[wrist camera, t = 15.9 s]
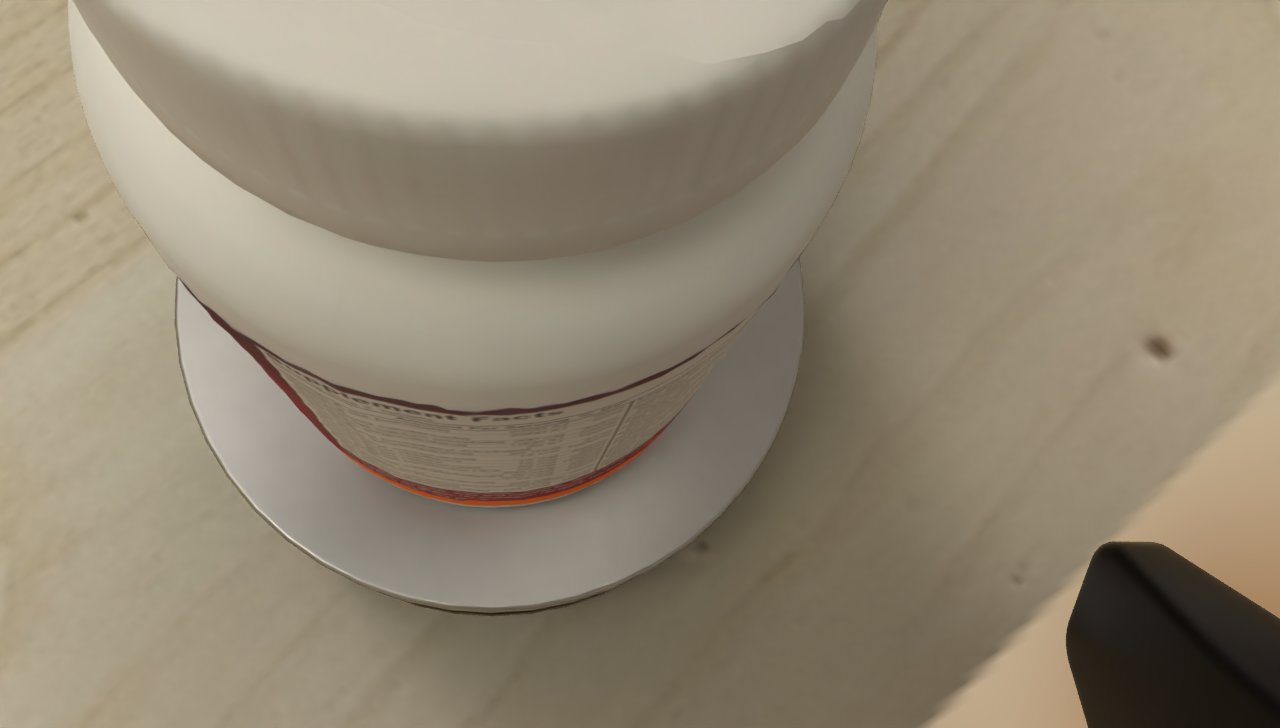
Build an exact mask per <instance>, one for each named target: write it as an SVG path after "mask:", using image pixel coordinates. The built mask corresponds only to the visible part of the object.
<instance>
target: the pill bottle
mask: <svg viewBox="0 0 1280 728" xmlns="http://www.w3.org/2000/svg"><path fill="white" fill-rule="evenodd" d="M887 1H888V0H68V21H69V39H70V49H71V59H72V67H73V72H74V77H75V82H76V87H77V90H78V94H79V97H80V101H81V104H82V108H83V112H84V115H85V119H86V122H87V125H88V127H89V129H90V132H91V134H92V137H93V139H94V142H95V144H96V146H97V149H98V151H99V154H100V156H101V159H102V161H103V163H104V165H105V167H106V169H107V171H108V174H109V176H110V178H111V180H112V182H113V184H114V186H115V188H116V189H117V191H118V193H119V194H120V196H121V198H122V200H123V201H124V203H125V205H126V206H127V208H128V210H129V211H130V212H131V214H132V215H133V217H134V218H135V219H136V221H137V222H138V224H139V225H140V226H141V228H142V229H143V231H144V232H145V234H146V235H147V237H148V238H149V239H150V241H151V242H152V244H153V245H154V247H155V248H156V250H157V251H158V253H159V254H160V255H161V257H162V258H163V260H164V261H165V263H166V264H167V266H168V267H169V268H170V269H171V270H172V271H173V272H174V273H175V275H176V276H177V277H178V278H179V279H180V281H181V282H182V283H183V285H184V286H185V288H186V289H187V290H188V291H189V292H190V294H191V295H192V296H193V297H194V298H195V299H196V300H197V301H198V302H199V303H200V304H201V305H202V307H203V308H204V309H205V310H206V311H207V312H208V313H209V315H210V316H211V318H212V319H213V320H214V321H215V322H216V323H217V324H218V325H220V326H221V327H222V328H223V329H224V330H225V331H227V332H228V333H229V334H230V335H231V336H232V337H233V338H234V339H235V340H236V341H237V342H238V344H239V345H240V346H241V347H242V348H244V349H245V350H246V351H247V352H248V353H249V354H250V355H251V356H252V357H253V358H254V359H255V361H256V362H257V363H258V364H259V365H260V366H261V367H262V368H263V370H264V371H265V372H266V373H267V374H268V376H269V377H270V378H271V379H272V380H273V381H274V382H275V383H276V384H277V385H278V386H279V387H280V388H281V389H282V390H283V391H284V392H285V393H286V395H287V396H288V397H289V398H290V399H291V401H292V402H293V403H294V404H295V406H296V407H297V408H298V409H299V410H300V412H302V413H303V414H304V415H305V416H306V417H307V418H308V419H309V420H310V421H311V422H312V423H313V425H314V426H315V427H316V428H317V429H318V430H319V431H320V432H321V433H322V434H323V435H324V436H325V437H326V438H327V439H328V440H329V441H331V442H332V443H333V444H334V445H335V446H336V447H337V448H338V449H339V450H340V451H341V452H343V453H344V454H345V455H346V456H347V457H349V458H350V459H351V460H352V461H354V462H355V463H356V464H358V465H359V466H361V467H362V468H364V469H365V470H367V471H368V472H370V473H371V474H373V475H374V476H376V477H378V478H380V479H382V480H384V481H386V482H388V483H390V484H392V485H394V486H396V487H398V488H400V489H403V490H406V491H408V492H411V493H414V494H416V495H419V496H422V497H426V498H429V499H433V500H436V501H440V502H445V503H450V504H455V505H460V506H470V507H485V508H497V507H514V506H525V505H530V504H535V503H540V502H544V501H549V500H553V499H557V498H560V497H564V496H567V495H569V494H572V493H574V492H577V491H579V490H582V489H584V488H586V487H589V486H591V485H593V484H595V483H597V482H599V481H601V480H603V479H604V478H606V477H608V476H610V475H611V474H613V473H615V472H616V471H618V470H620V469H621V468H622V467H624V466H625V465H626V464H628V463H629V462H631V461H632V460H633V459H635V458H636V457H637V456H639V455H640V454H641V453H642V452H643V451H644V450H645V449H646V448H647V447H648V446H649V445H650V444H651V443H652V442H653V441H654V440H656V439H657V438H658V437H659V436H660V435H661V433H662V432H663V431H664V430H665V429H666V428H667V426H668V425H669V424H670V423H671V422H672V421H673V420H674V419H675V417H676V416H677V415H678V414H679V413H680V412H681V410H682V409H683V408H684V407H685V406H686V405H687V403H688V402H689V401H690V400H691V398H692V397H693V396H694V394H695V393H696V392H697V390H698V389H699V388H700V386H701V385H702V384H703V382H704V381H705V380H706V378H707V377H708V376H709V375H710V373H711V372H712V371H713V369H714V368H715V367H716V366H717V364H718V363H719V362H720V361H721V359H722V358H723V357H724V356H725V354H726V353H727V352H728V351H729V349H730V348H731V347H732V345H733V344H734V343H735V342H736V340H737V339H738V338H739V337H740V335H741V334H742V333H743V331H744V330H745V329H746V327H747V326H748V324H749V323H750V322H751V320H752V319H753V318H754V316H755V315H756V314H757V312H758V311H759V310H760V308H761V307H762V306H763V305H764V303H765V302H766V301H767V300H768V299H769V298H770V297H771V296H772V295H773V294H774V293H775V292H776V290H777V289H778V287H779V285H780V284H781V282H782V281H783V279H784V277H785V276H786V275H787V273H788V272H789V271H790V269H791V268H792V267H793V265H794V264H795V262H796V261H797V260H798V258H799V257H800V255H801V254H802V252H803V251H804V250H805V248H806V247H807V245H808V244H809V242H810V241H811V239H812V238H813V236H814V235H815V233H816V231H817V230H818V228H819V226H820V225H821V223H822V222H823V220H824V218H825V217H826V215H827V213H828V212H829V210H830V209H831V207H832V205H833V203H834V201H835V199H836V197H837V195H838V193H839V191H840V189H841V186H842V184H843V182H844V180H845V178H846V176H847V174H848V172H849V169H850V167H851V164H852V162H853V159H854V156H855V153H856V150H857V148H858V145H859V142H860V139H861V136H862V133H863V129H864V125H865V120H866V116H867V112H868V108H869V104H870V100H871V96H872V89H873V81H874V73H875V66H876V56H877V23H878V21H879V18H880V16H881V13H882V11H883V8H884V6H885V4H886V2H887Z"/></svg>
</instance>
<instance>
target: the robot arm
mask: <svg viewBox="0 0 1280 728" xmlns="http://www.w3.org/2000/svg"><path fill="white" fill-rule="evenodd" d="M1066 649H1067V656H1068V660H1069V664H1070V668H1071V671H1072V674H1073V677H1074V681H1075V684H1076V688H1077V691H1078V695H1079V698H1080V701H1081V705H1082V708H1083V711H1084V714H1085V718H1086V721H1087V725H1088V728H1280V618H1278V617H1276V616H1275V615H1273V614H1272V613H1270V612H1268V611H1267V610H1265V609H1264V608H1262V607H1261V606H1259V605H1257V604H1256V603H1254V602H1253V601H1251V600H1249V599H1248V598H1246V597H1245V596H1243V595H1242V594H1240V593H1239V592H1237V591H1235V590H1234V589H1232V588H1231V587H1229V586H1228V585H1226V584H1224V583H1223V582H1221V581H1220V580H1218V579H1217V578H1215V577H1213V576H1212V575H1210V574H1209V573H1207V572H1206V571H1204V570H1202V569H1201V568H1199V567H1198V566H1196V565H1195V564H1193V563H1191V562H1190V561H1188V560H1187V559H1185V558H1184V557H1182V556H1180V555H1179V554H1177V553H1176V552H1174V551H1173V550H1171V549H1169V548H1168V547H1166V546H1164V545H1162V544H1158V543H1154V542H1108V543H1106V544H1103V545H1101V546H1100V547H1099V548H1098V549H1097V550H1096V552H1095V553H1094V555H1093V557H1092V559H1091V562H1090V564H1089V567H1088V570H1087V573H1086V575H1085V578H1084V581H1083V584H1082V587H1081V589H1080V592H1079V595H1078V598H1077V600H1076V603H1075V606H1074V609H1073V612H1072V614H1071V617H1070V620H1069V623H1068V627H1067V634H1066Z"/></svg>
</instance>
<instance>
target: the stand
mask: <svg viewBox="0 0 1280 728" xmlns="http://www.w3.org/2000/svg"><path fill="white" fill-rule="evenodd" d="M175 329H176V338H177V347H178V355H179V364H180V367H181V371H182V375H183V379H184V383H185V386H186V390H187V394H188V398H189V402H190V405H191V407H192V409H193V412H194V414H195V416H196V419H197V421H198V424H199V426H200V428H201V431H202V433H203V435H204V438H205V440H206V442H207V444H208V446H209V447H210V449H211V451H212V452H213V454H214V456H215V457H216V459H217V461H218V462H219V464H220V466H221V467H222V469H223V471H224V472H225V474H226V475H227V477H228V479H229V480H230V481H231V482H232V483H233V485H234V486H235V487H236V488H237V490H238V491H239V492H240V493H241V495H242V496H243V497H244V498H245V499H246V501H247V502H248V503H249V504H250V506H251V507H252V508H253V509H254V511H255V512H257V513H258V514H259V515H260V516H261V517H262V518H263V519H264V520H265V521H266V522H267V523H268V524H269V525H271V526H272V527H273V528H274V529H275V530H276V531H277V532H278V533H279V534H280V535H281V536H282V537H283V538H285V539H286V540H287V541H288V542H290V543H291V544H293V545H294V546H295V547H297V548H298V549H300V550H301V551H303V552H304V553H305V554H307V555H308V556H310V557H311V558H313V559H314V560H315V561H317V562H318V563H320V564H321V565H323V566H325V567H327V568H329V569H331V570H333V571H334V572H336V573H338V574H340V575H342V576H344V577H346V578H348V579H350V580H352V581H354V582H356V583H358V584H360V585H362V586H365V587H367V588H370V589H373V590H376V591H378V592H380V593H383V594H385V595H388V596H391V597H394V598H397V599H400V600H402V601H405V602H408V603H411V604H414V605H417V606H420V607H425V608H430V609H435V610H440V611H444V612H449V613H454V614H466V615H481V616H505V615H521V614H532V613H537V612H542V611H547V610H552V609H557V608H562V607H567V606H569V605H572V604H575V603H578V602H581V601H584V600H587V599H590V598H593V597H596V596H599V595H601V594H603V593H605V592H607V591H609V590H611V589H613V588H615V587H617V586H619V585H622V584H624V583H626V582H628V581H630V580H632V579H634V578H635V577H637V576H639V575H641V574H643V573H645V572H647V571H649V570H651V569H653V568H655V567H656V566H658V565H659V564H661V563H662V562H664V561H665V560H667V559H668V558H670V557H671V556H673V555H674V554H676V553H677V552H678V551H680V550H681V549H683V548H684V547H686V546H687V545H689V544H690V543H691V542H692V541H693V540H695V539H696V538H697V537H698V536H699V535H700V534H701V533H702V532H704V531H705V530H706V529H707V528H708V527H709V526H710V525H711V524H713V523H714V522H715V521H716V520H717V519H718V518H719V517H720V516H721V515H722V514H723V513H724V512H725V510H726V509H727V508H728V507H729V506H730V505H731V503H732V502H733V501H734V500H735V499H736V498H737V496H738V495H739V494H740V493H741V492H742V491H743V489H744V488H745V487H746V486H747V484H748V483H749V481H750V480H751V478H752V477H753V475H754V474H755V472H756V470H757V469H758V467H759V466H760V464H761V463H762V461H763V460H764V458H765V457H766V455H767V453H768V452H769V450H770V448H771V445H772V443H773V441H774V439H775V437H776V435H777V433H778V430H779V428H780V426H781V424H782V422H783V420H784V418H785V415H786V412H787V409H788V405H789V402H790V399H791V396H792V393H793V389H794V386H795V383H796V380H797V375H798V369H799V363H800V357H801V351H802V345H803V330H804V294H803V284H802V274H801V265H800V260H799V258H798V260H797V261H796V262H795V264H794V265H793V267H792V268H791V269H790V271H789V272H788V273H787V275H786V276H785V277H784V279H783V281H782V282H781V284H780V285H779V287H778V289H777V290H776V292H775V293H774V294H773V295H772V296H771V297H770V298H769V299H768V300H767V301H766V302H765V303H764V305H763V306H762V307H761V308H760V310H759V311H758V312H757V314H756V315H755V316H754V318H753V319H752V320H751V322H750V323H749V324H748V326H747V327H746V329H745V330H744V331H743V333H742V334H741V335H740V337H739V338H738V339H737V340H736V342H735V343H734V344H733V345H732V347H731V348H730V349H729V351H728V352H727V353H726V354H725V356H724V357H723V358H722V359H721V361H720V362H719V363H718V364H717V366H716V367H715V368H714V369H713V371H712V372H711V373H710V375H709V376H708V377H707V378H706V380H705V381H704V382H703V384H702V385H701V386H700V388H699V389H698V390H697V392H696V393H695V394H694V396H693V397H692V398H691V400H690V401H689V402H688V403H687V405H686V406H685V407H684V408H683V409H682V410H681V412H680V413H679V414H678V415H677V416H676V417H675V419H674V420H673V421H672V422H671V423H670V424H669V425H668V426H667V428H666V429H665V430H664V431H663V432H662V433H661V435H660V436H659V437H658V438H657V439H656V440H654V441H653V442H652V443H651V444H650V445H649V446H648V447H647V448H646V449H645V450H644V451H643V452H642V453H641V454H640V455H639V456H637V457H636V458H635V459H633V460H632V461H631V462H629V463H628V464H626V465H625V466H624V467H622V468H621V469H620V470H618V471H616V472H615V473H613V474H611V475H610V476H608V477H606V478H604V479H603V480H601V481H599V482H597V483H595V484H593V485H591V486H589V487H586V488H584V489H582V490H579V491H577V492H574V493H572V494H569V495H567V496H564V497H560V498H557V499H553V500H549V501H544V502H540V503H535V504H530V505H525V506H514V507H497V508H485V507H470V506H460V505H455V504H450V503H445V502H440V501H436V500H433V499H429V498H426V497H422V496H419V495H416V494H414V493H411V492H408V491H406V490H403V489H400V488H398V487H396V486H394V485H392V484H390V483H388V482H386V481H384V480H382V479H380V478H378V477H376V476H374V475H373V474H371V473H370V472H368V471H367V470H365V469H364V468H362V467H361V466H359V465H358V464H356V463H355V462H354V461H352V460H351V459H350V458H349V457H347V456H346V455H345V454H344V453H343V452H341V451H340V450H339V449H338V448H337V447H336V446H335V445H334V444H333V443H332V442H331V441H329V440H328V439H327V438H326V437H325V436H324V435H323V434H322V433H321V432H320V431H319V430H318V429H317V428H316V427H315V426H314V425H313V423H312V422H311V421H310V420H309V419H308V418H307V417H306V416H305V415H304V414H303V413H302V412H300V410H299V409H298V408H297V407H296V406H295V404H294V403H293V402H292V401H291V399H290V398H289V397H288V396H287V395H286V393H285V392H284V391H283V390H282V389H281V388H280V387H279V386H278V385H277V384H276V383H275V382H274V381H273V380H272V379H271V378H270V377H269V376H268V374H267V373H266V372H265V371H264V370H263V368H262V367H261V366H260V365H259V364H258V363H257V362H256V361H255V359H254V358H253V357H252V356H251V355H250V354H249V353H248V352H247V351H246V350H245V349H244V348H242V347H241V346H240V345H239V344H238V342H237V341H236V340H235V339H234V338H233V337H232V336H231V335H230V334H229V333H228V332H227V331H225V330H224V329H223V328H222V327H221V326H220V325H218V324H217V323H216V322H215V321H214V320H213V319H212V318H211V316H210V315H209V313H208V312H207V311H206V310H205V309H204V308H203V307H202V305H201V304H200V303H199V302H198V301H197V300H196V299H195V298H194V297H193V296H192V295H191V294H190V292H189V291H188V290H187V289H186V288H185V286H184V285H183V283H182V282H181V281H180V279H179V278H178V277H177V279H176V297H175Z"/></svg>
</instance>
